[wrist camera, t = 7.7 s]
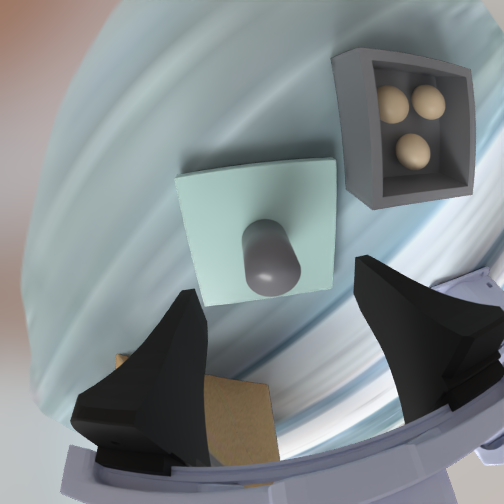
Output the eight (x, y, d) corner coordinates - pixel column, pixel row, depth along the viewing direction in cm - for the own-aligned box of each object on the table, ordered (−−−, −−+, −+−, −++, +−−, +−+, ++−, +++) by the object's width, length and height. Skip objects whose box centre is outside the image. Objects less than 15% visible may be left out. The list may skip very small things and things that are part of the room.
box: (435, 69, 11) (470, 69, 8) (440, 178, 15) (472, 194, 12) (330, 58, 11) (358, 47, 8) (345, 189, 15) (372, 210, 12)
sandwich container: (114, 349, 21) (78, 501, 8) (269, 382, 25) (292, 522, 12) (115, 391, 25) (95, 507, 12) (241, 416, 29) (251, 527, 16)
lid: (327, 155, 15) (365, 175, 10) (326, 277, 19) (350, 323, 15) (178, 172, 14) (158, 199, 10) (205, 294, 19) (202, 346, 15)
